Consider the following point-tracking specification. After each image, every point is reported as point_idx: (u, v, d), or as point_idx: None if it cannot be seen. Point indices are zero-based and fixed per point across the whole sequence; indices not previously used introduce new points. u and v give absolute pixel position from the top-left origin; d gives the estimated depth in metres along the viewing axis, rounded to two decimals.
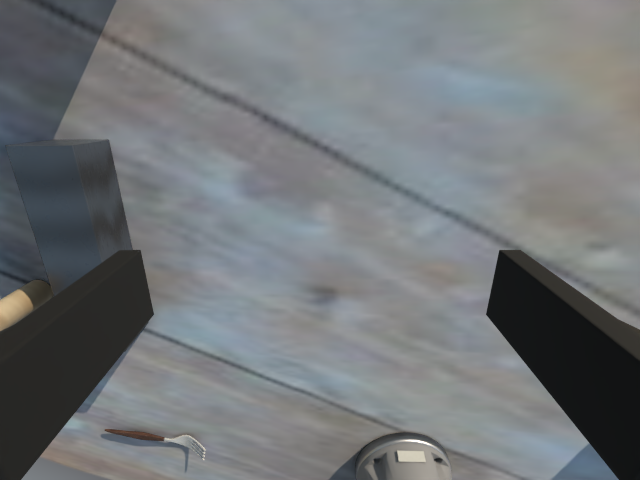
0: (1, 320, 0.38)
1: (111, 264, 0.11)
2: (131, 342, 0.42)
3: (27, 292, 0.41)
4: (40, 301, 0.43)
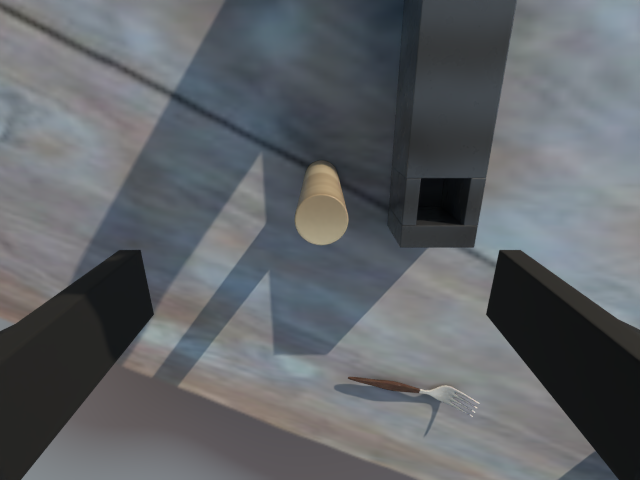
0: None
1: (111, 264, 0.11)
2: None
3: (332, 168, 0.30)
4: None
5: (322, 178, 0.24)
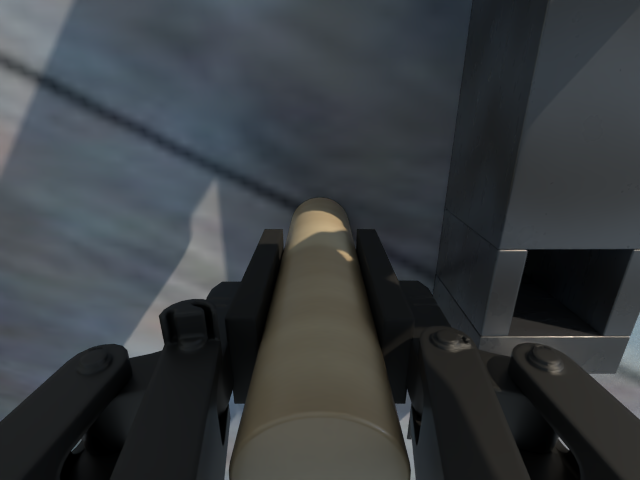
0: (363, 281, 0.12)
1: (269, 239, 0.13)
2: None
3: (340, 218, 0.16)
4: None
5: (322, 275, 0.10)
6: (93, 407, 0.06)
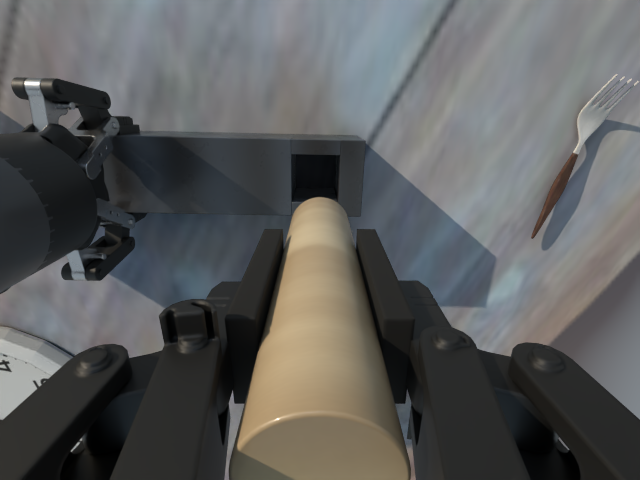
0: (363, 280, 0.12)
1: (269, 239, 0.13)
2: (361, 139, 0.29)
3: (340, 218, 0.16)
4: None
5: (322, 275, 0.10)
6: (93, 407, 0.06)
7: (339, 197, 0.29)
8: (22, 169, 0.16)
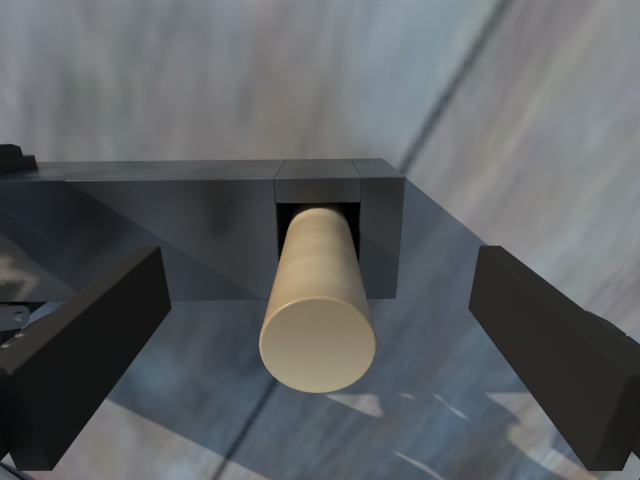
0: None
1: (133, 258, 0.12)
2: (395, 171, 0.17)
3: None
4: None
5: (320, 232, 0.13)
6: None
7: (360, 270, 0.17)
8: None
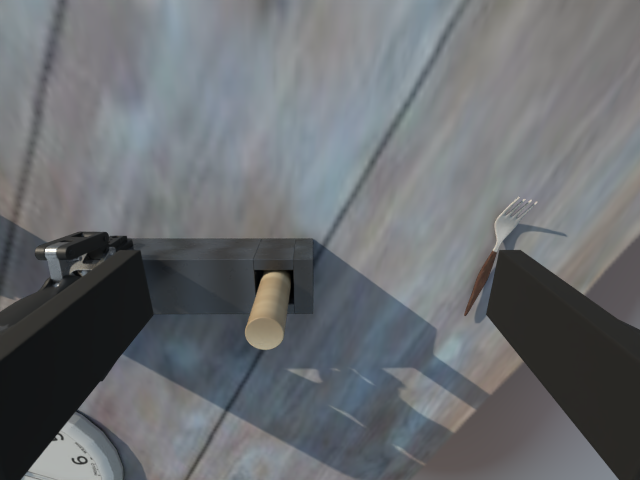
0: (288, 290, 0.34)
1: (111, 264, 0.11)
2: (311, 253, 0.36)
3: None
4: None
5: (271, 288, 0.32)
6: None
7: (294, 300, 0.36)
8: None
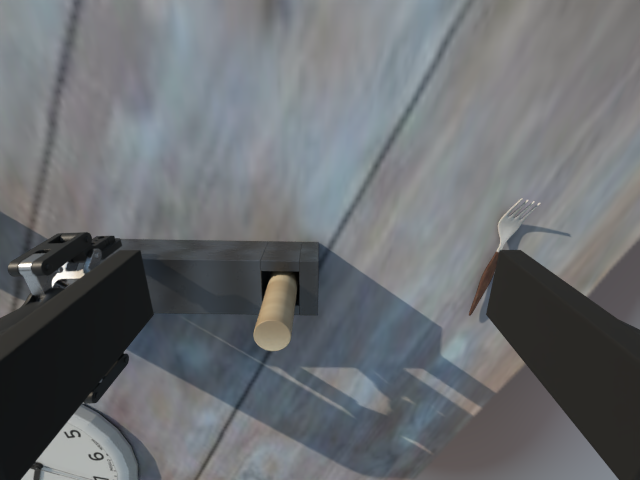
0: (295, 292, 0.35)
1: (110, 263, 0.11)
2: (317, 255, 0.37)
3: None
4: None
5: (278, 291, 0.33)
6: None
7: (300, 301, 0.37)
8: None
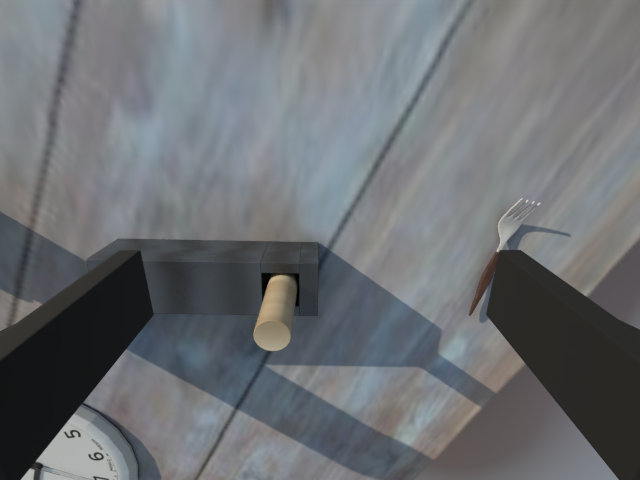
0: (295, 292, 0.35)
1: (110, 263, 0.11)
2: (317, 257, 0.37)
3: None
4: None
5: (278, 291, 0.33)
6: None
7: (300, 302, 0.37)
8: None
